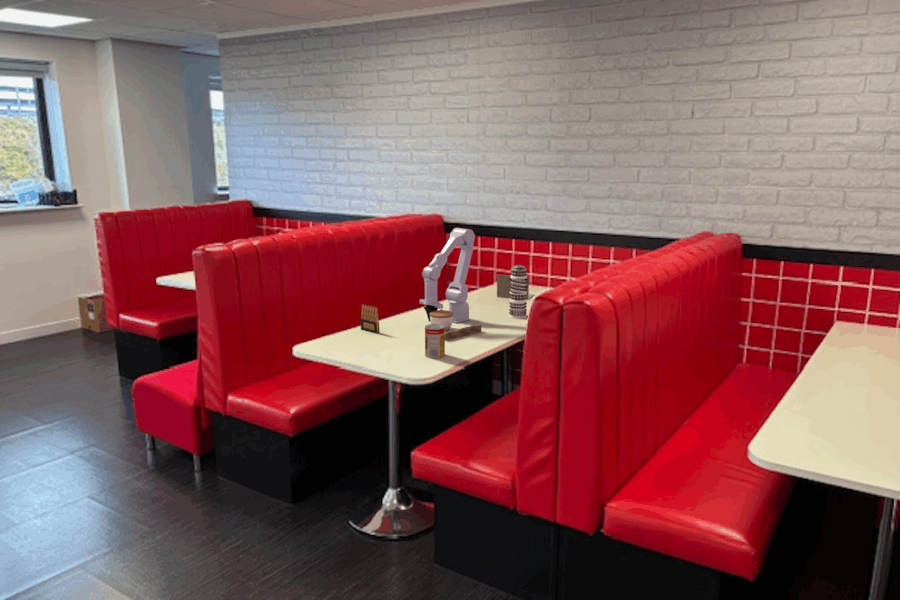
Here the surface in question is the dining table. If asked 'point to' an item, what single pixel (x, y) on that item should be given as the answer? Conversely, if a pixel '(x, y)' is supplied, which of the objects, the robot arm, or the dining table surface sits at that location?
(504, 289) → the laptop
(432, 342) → the canned food
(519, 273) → the decorative candle
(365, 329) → the ammunition clip
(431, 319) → the lidded jar
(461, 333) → the walnut rail
